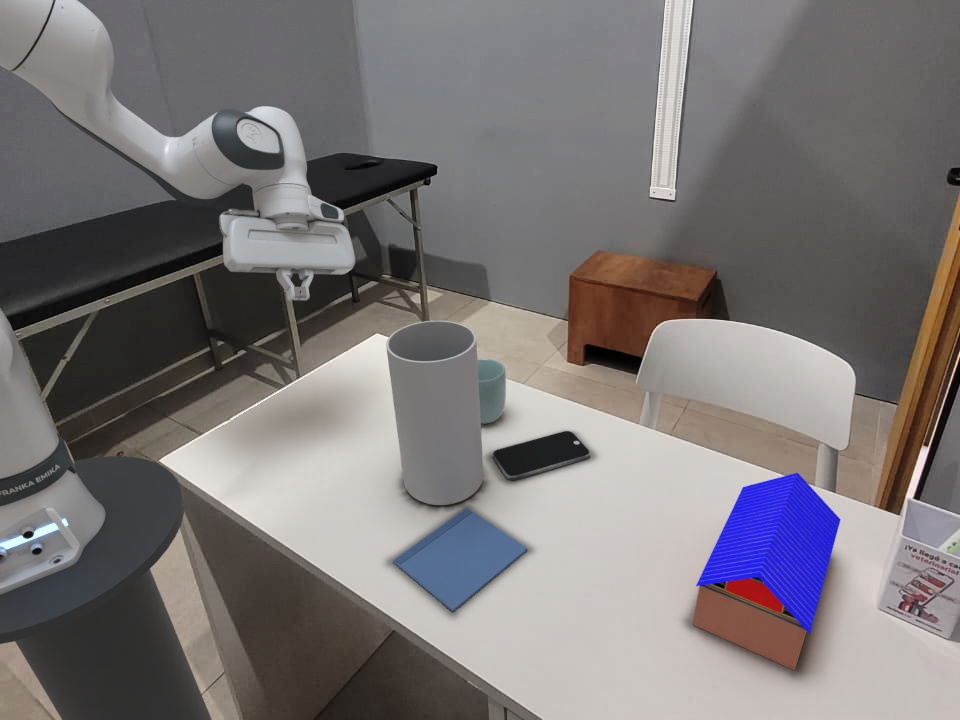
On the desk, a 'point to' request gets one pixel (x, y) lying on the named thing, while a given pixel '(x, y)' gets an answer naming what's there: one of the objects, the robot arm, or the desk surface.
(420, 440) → the cylinder vase
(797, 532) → the house
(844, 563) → the desk surface
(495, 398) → the cup
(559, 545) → the desk surface
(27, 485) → the robot arm
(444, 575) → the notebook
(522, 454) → the smartphone
